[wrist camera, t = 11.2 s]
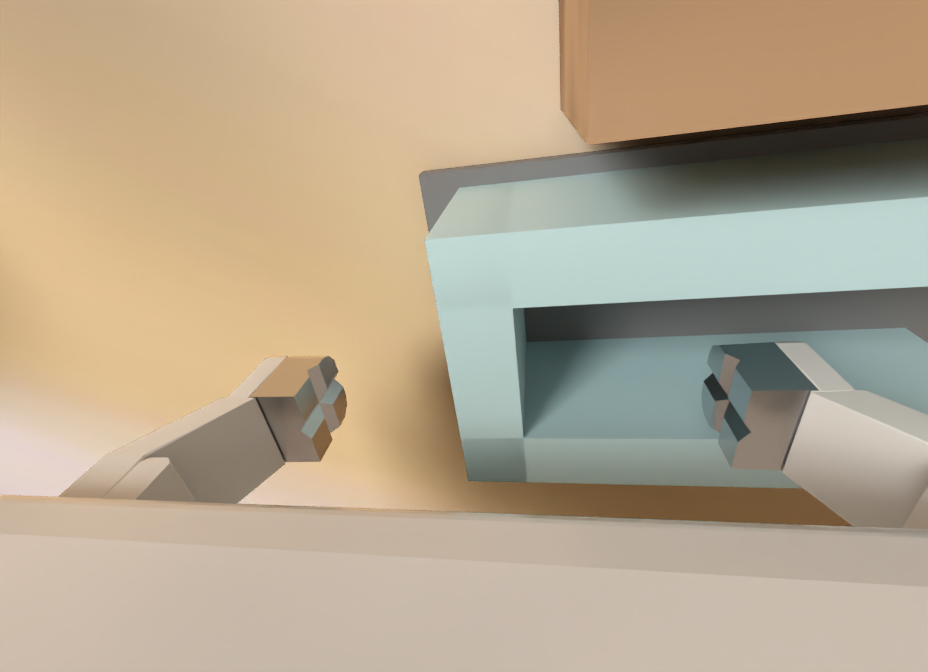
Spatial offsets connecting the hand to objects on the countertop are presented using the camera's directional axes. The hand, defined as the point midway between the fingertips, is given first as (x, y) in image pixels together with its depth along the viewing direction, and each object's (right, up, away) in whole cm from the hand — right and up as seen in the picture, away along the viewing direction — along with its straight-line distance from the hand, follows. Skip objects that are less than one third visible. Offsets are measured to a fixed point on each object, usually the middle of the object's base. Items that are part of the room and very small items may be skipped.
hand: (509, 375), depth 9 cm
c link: (+5, +2, +2) cm, 5 cm away
